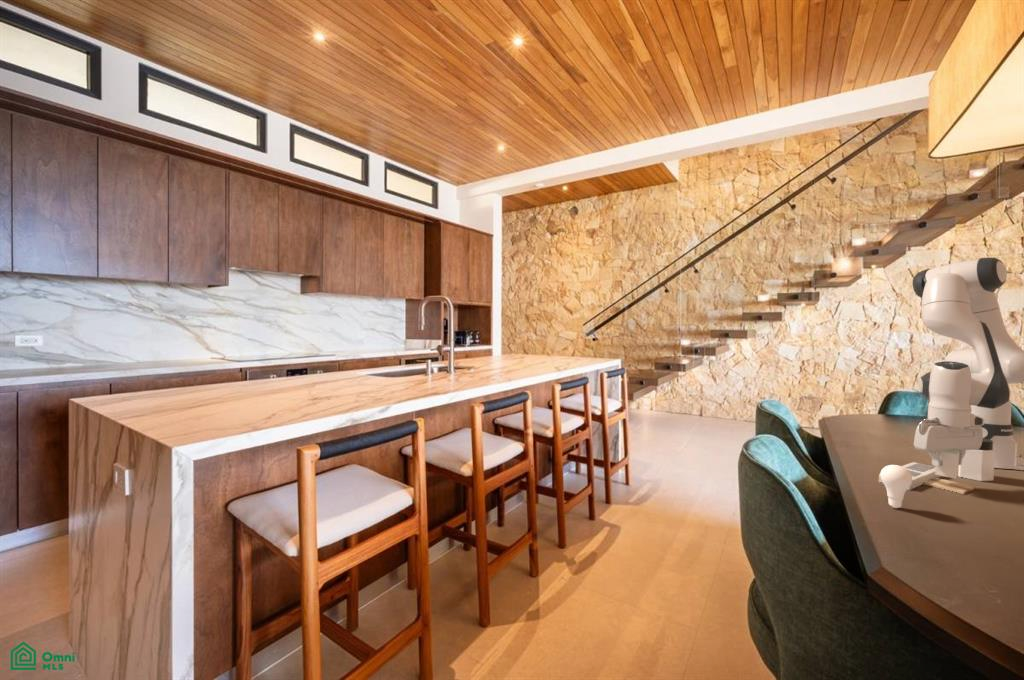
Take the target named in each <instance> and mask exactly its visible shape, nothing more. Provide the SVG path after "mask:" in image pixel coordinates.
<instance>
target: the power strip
mask: <svg viewBox="0 0 1024 680" xmlns="http://www.w3.org/2000/svg"><path fill="white" fill-rule="evenodd" d="M901 466H902V467H904V468H905V469H907V470H908V471H909V472H910V474H911V476H912V484H911V485H910V487H909V488H908V489H907V490H906V491H910V490H913V489H915V488H917V487H920V486H922V485H923V482H925V481H927V480H930V479H932V478H935V477H936V478H942V477H943V476H941V475H936V474H935V469H936V466H934V465H928V464H924V463H920V462H919V463H918V462H916V461H912V462H910V463H907V464H903V465H901ZM880 482H882V480H881V477H880V473H878V483H880ZM881 484H884V483H883V482H882V483H881Z"/></svg>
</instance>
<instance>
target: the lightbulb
mask: <svg viewBox="0 0 1024 680" xmlns="http://www.w3.org/2000/svg"><path fill="white" fill-rule="evenodd" d="M902 466H903V465H897V464H889V465H886V466H884V467H883V468H882V469H881V471H880V473H879V474H880V477H881V480H882V482H883V483H882V484H883V485H884V487H885V489H886V496H887V500H888V501H887V502H888V505H889V506H890V507H892V509H893V508H894V509H898V508H902V505H903V500H904V497H905V493H906V491H908V490H907V489H908V488H909V487H910V485H911V484H912V476H911V474H910V472H909V471H908V470H907V469H905V468H904V467H902Z"/></svg>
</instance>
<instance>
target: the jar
mask: <svg viewBox="0 0 1024 680" xmlns="http://www.w3.org/2000/svg"><path fill="white" fill-rule="evenodd" d="M994 458H995V450H993V441H992V440H989V439H986V438H983V439H982V445H981V447H980V448H979V449H974V450H966V454H965V455H964V457H963V459H962V464H961V465H959V471H958V477H959V478H961V477H963V479H966V478H967V480H972V481H978V482H991V481H992V482H993V481H994V478H995V477H994V476H995V468H994Z"/></svg>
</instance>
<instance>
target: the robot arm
mask: <svg viewBox="0 0 1024 680" xmlns="http://www.w3.org/2000/svg"><path fill="white" fill-rule="evenodd" d="M1007 277H1008V270H1007V268H1006V265H1005V264H1004V263H1003V261H1002V260H1000V259H999V258H996V257H980V258H979V259H971V260H969V259H968V260H963V261H955V262H952V263H949V264H948V263H947V264H945V265H940V266H936V267H933V268H926V269H924V270H921V271H918V272H917V273H916V274H915V275H914V276H913V278H912V289H913V291H914V293H915V295H916V296H917V297H919V298H920V299H921V310H920V311H921V312H920V313H921V314H920V315H921V319H922V324H923V325H924V326H925V327H926V328H927V329H928V330H929V331H931V332H933V333H935V334H937V335H940V336H943V337H947V338H951V339H955V340H958V341H961V342H963V343H966V344H967V345H969V346H970V347H971V348H963V349H957V350H953V351H951V352H949V353H948V354H946V356H945V359H944V361H938V362H935V363H933V364H932V368H931V371H929V372H927V373H924V374H923V375H922V376H921V377H920V379H921V385H920V386H921V389H920V393H919V394H920V395H921V396H922V397H924V398H925V399H927V400H928V401H929V402H928V403H927V418H923V419H922V420H921V422H919V423H918V425H917V427H916V429H915V433H914V440H913V446H914V449H916V450H917V451H921V452H926V453H928V455H929V457H930V459H931V466H933V467H936V466H942V465H943V464H942V463H943V460H941V459H940V456H939V455H941V451H950V450H955V449H959V450H960V454H959V465H961V464H962V459H963V457H964V455H965V454H966V450H974V449H979V448H980V447H981V445H982V439H983V438H986V439H989V440H992V441H993V450H995V458H994V469H1003V470H1006V469H1007V470H1016V471H1017V470H1018V471H1024V458H1022V454H1021V453H1018V442H1017V441H1016V440H1015V438H1014V437H1013V435H1014V428H1013V424H1012V401H1011V400H1010V398H1011V387H1010V384H1011V385H1013V384H1014V385H1015V384H1024V350H1023V349H1022V348H1021V347H1020V346H1019V345H1018V344H1017V343H1016V342H1015V341H1014V339H1012V337H1011V336H1010V334H1009V332H1008V331H1007V329H1006V326H1005V323H1004V320H1003V316H1002V312H1001V309H1000V303H999V300H998V298H997V295H996V294H995V292H996V291H997V289H1000V288H1001V287H1002V286H1003V285H1004V284H1005V283H1006V281H1007Z"/></svg>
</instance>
